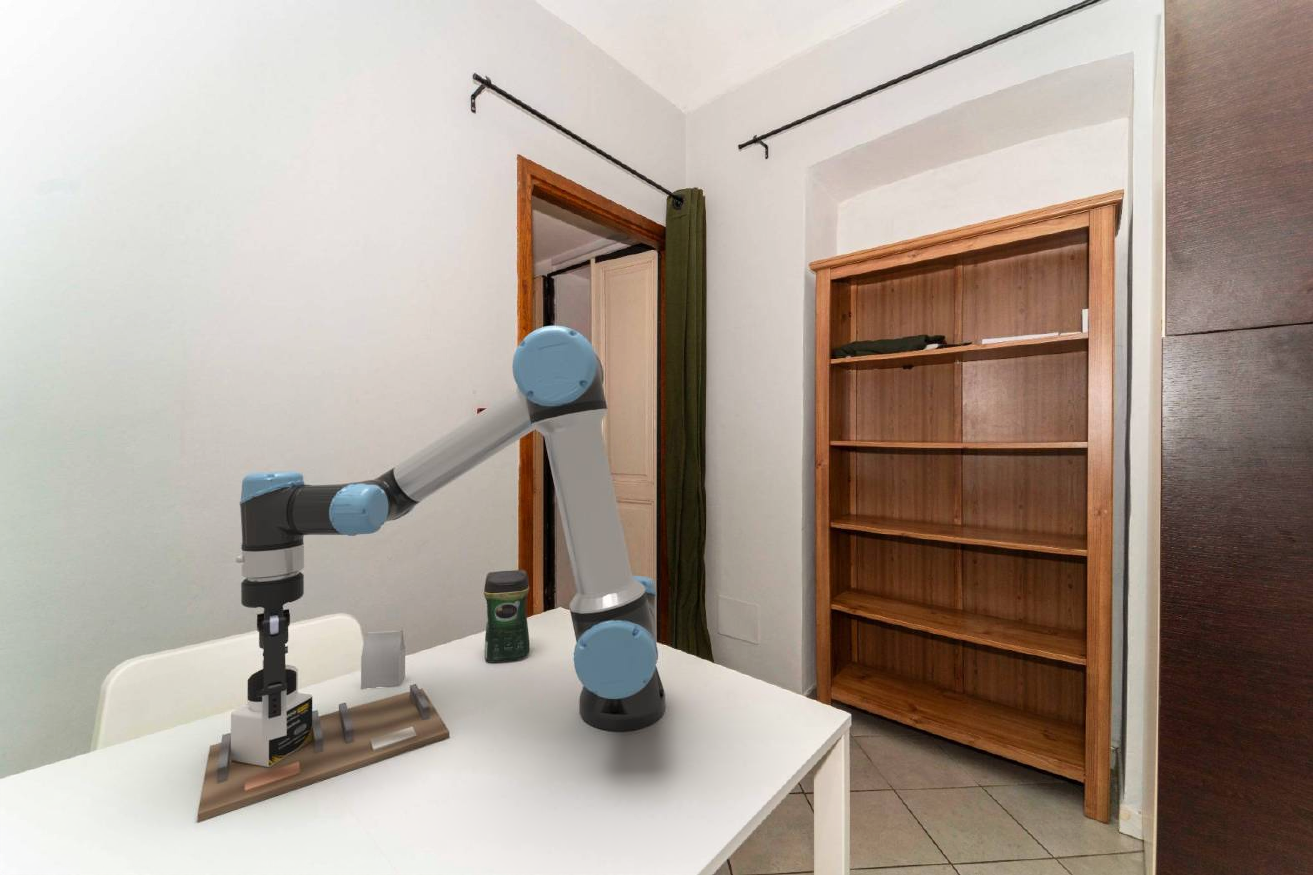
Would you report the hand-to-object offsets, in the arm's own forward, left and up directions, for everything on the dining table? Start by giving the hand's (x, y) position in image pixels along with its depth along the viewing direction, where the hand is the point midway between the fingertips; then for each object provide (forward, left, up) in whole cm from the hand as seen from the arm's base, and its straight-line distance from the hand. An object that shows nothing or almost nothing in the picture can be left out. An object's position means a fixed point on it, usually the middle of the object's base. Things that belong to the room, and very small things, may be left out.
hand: (274, 717), depth 77 cm
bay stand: (-2, -7, -6) cm, 10 cm away
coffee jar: (+14, -41, -6) cm, 44 cm away
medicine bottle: (0, 0, -5) cm, 5 cm away
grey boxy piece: (+16, -17, -6) cm, 24 cm away
